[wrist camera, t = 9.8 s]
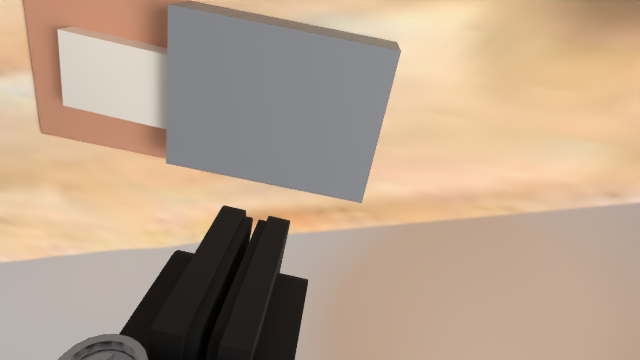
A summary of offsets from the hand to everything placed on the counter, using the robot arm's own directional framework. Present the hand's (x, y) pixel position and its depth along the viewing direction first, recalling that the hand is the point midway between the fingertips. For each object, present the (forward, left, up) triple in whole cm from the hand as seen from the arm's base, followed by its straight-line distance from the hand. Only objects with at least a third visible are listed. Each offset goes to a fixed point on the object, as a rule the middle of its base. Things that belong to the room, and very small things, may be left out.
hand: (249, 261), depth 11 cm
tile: (-16, -4, -25) cm, 30 cm away
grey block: (-3, -3, -25) cm, 26 cm away
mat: (-18, -3, -25) cm, 31 cm away
